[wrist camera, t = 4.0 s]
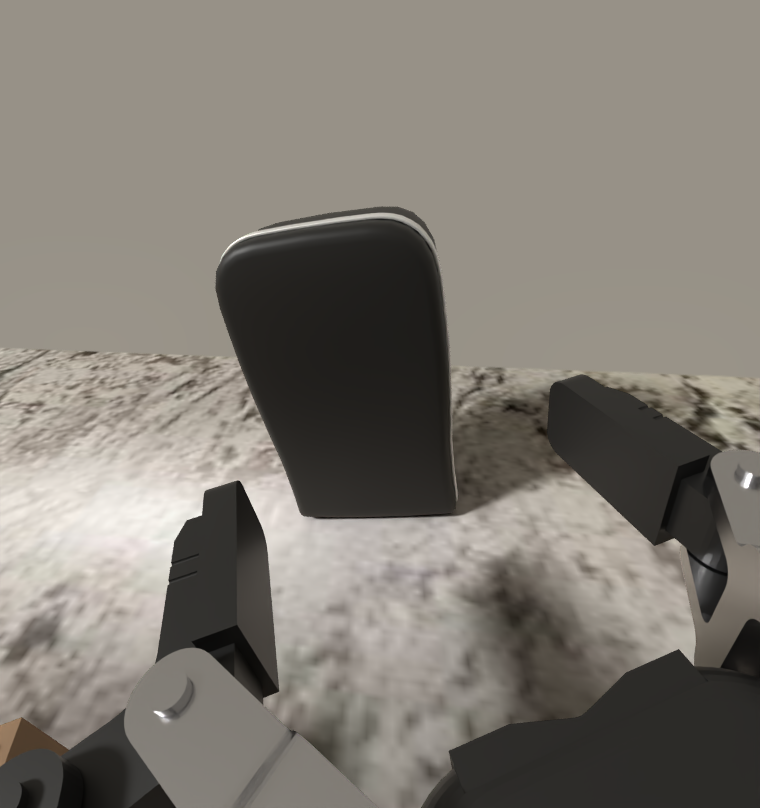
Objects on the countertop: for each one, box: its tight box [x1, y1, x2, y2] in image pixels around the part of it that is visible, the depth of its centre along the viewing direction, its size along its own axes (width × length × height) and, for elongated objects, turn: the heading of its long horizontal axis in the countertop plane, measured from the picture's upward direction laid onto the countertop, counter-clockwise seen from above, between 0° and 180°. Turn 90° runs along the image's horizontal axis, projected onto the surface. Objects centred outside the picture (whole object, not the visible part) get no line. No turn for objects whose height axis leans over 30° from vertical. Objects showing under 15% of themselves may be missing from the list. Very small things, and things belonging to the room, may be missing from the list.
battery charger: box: [216, 207, 458, 517], centre depth 16 cm, size 7×4×11 cm, turn 84°
